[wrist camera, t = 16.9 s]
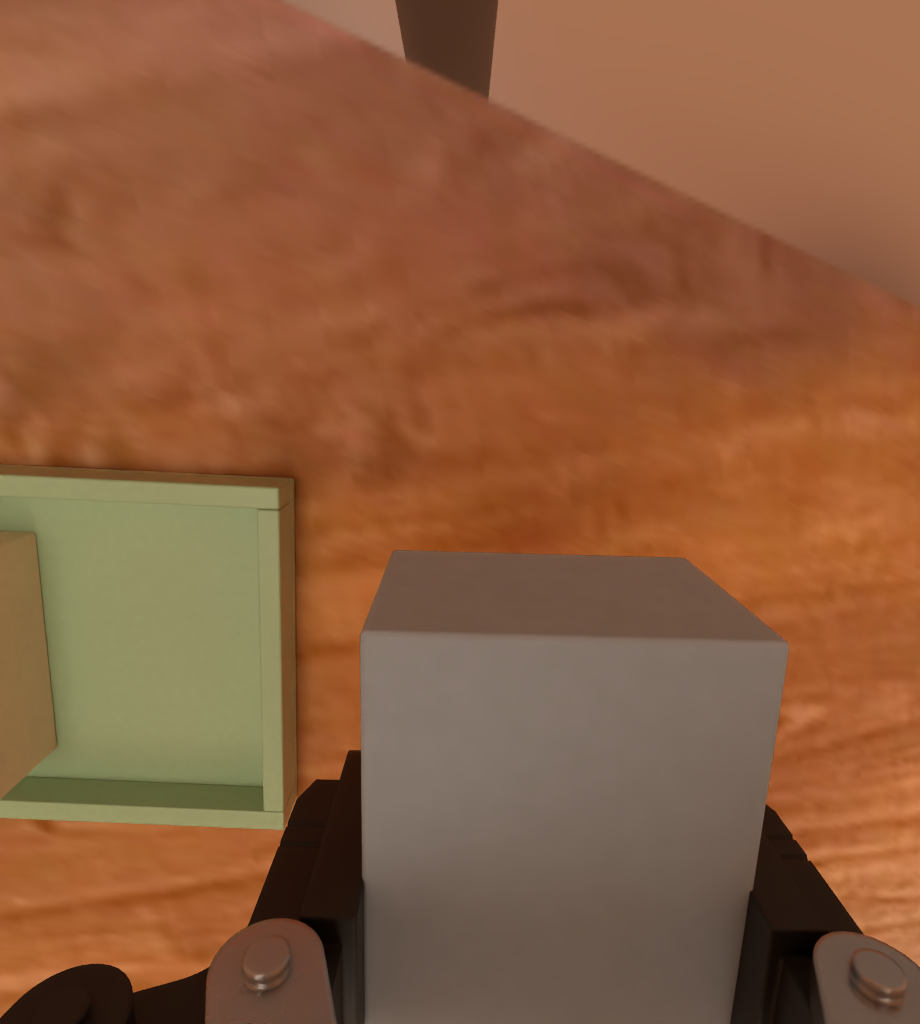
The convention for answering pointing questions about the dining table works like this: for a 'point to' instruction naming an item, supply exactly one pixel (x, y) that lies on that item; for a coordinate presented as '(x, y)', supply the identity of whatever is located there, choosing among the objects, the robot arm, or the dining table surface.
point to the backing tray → (162, 645)
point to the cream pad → (22, 663)
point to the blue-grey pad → (560, 788)
